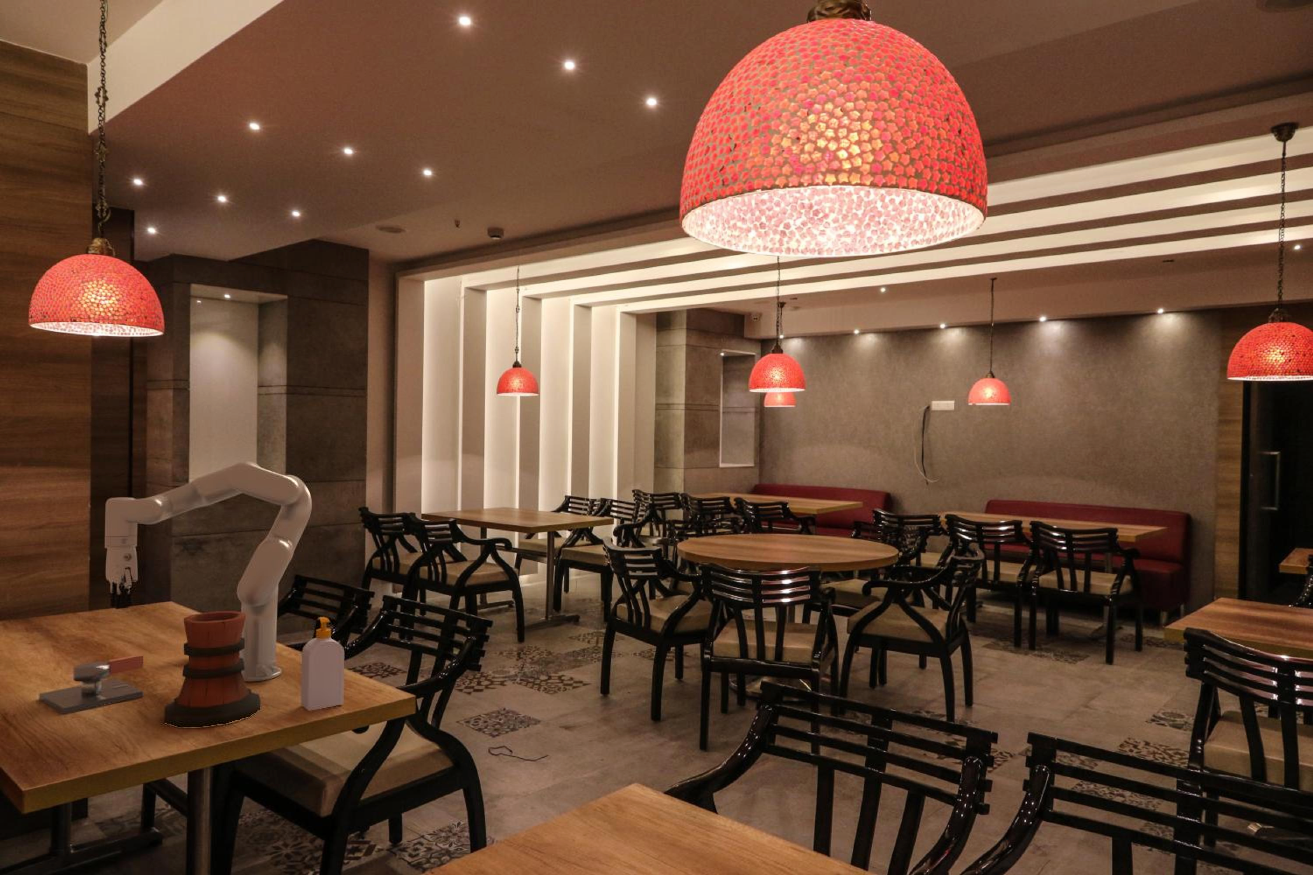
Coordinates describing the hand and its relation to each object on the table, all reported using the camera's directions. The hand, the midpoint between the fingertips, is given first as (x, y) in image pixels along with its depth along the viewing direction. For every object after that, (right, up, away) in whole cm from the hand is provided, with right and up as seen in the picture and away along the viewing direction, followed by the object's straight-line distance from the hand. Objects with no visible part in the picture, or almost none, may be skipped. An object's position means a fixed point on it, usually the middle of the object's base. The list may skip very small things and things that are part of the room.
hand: (119, 606), depth 226 cm
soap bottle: (+62, -23, -13) cm, 68 cm away
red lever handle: (+2, -17, -8) cm, 18 cm away
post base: (0, -22, -11) cm, 25 cm away
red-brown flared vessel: (+37, -23, -19) cm, 48 cm away
